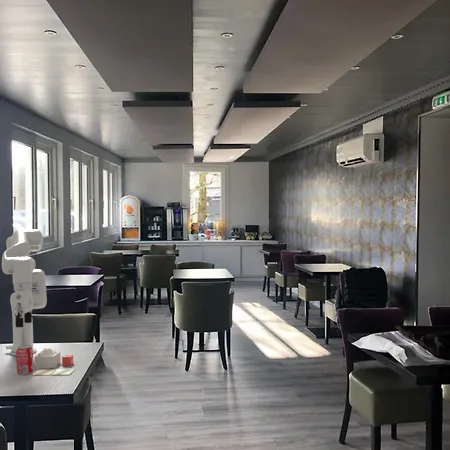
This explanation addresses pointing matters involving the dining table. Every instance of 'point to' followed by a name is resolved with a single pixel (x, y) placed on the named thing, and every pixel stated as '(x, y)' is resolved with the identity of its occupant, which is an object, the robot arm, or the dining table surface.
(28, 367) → the soda can
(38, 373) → the beige and green board
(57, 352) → the base
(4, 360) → the dining table surface
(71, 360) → the die
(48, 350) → the dome
